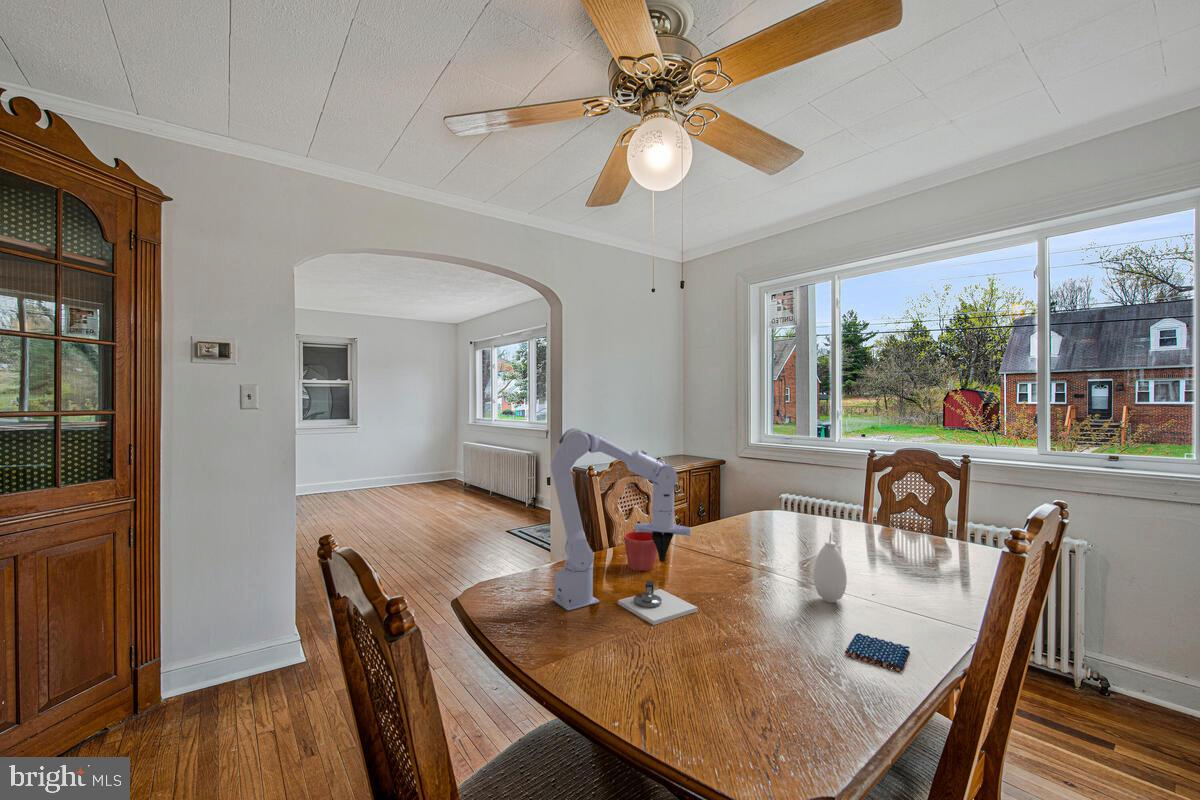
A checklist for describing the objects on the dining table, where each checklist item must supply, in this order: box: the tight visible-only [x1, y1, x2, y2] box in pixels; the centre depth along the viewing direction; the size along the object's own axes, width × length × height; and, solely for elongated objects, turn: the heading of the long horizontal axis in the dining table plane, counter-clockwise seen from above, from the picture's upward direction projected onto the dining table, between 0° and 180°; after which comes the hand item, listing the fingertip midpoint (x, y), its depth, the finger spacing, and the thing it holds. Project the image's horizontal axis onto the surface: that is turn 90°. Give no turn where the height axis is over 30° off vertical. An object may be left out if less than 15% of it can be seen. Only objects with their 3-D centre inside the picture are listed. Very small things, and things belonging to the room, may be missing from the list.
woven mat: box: [844, 632, 911, 672], centre depth 104 cm, size 10×11×2 cm
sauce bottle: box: [812, 532, 848, 604], centre depth 131 cm, size 8×8×18 cm
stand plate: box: [617, 588, 699, 626], centre depth 126 cm, size 14×14×1 cm
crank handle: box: [634, 580, 662, 607], centre depth 129 cm, size 11×7×2 cm, turn 169°
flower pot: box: [623, 531, 658, 572], centre depth 156 cm, size 11×11×10 cm
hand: (662, 560), depth 133 cm, fingers closed
